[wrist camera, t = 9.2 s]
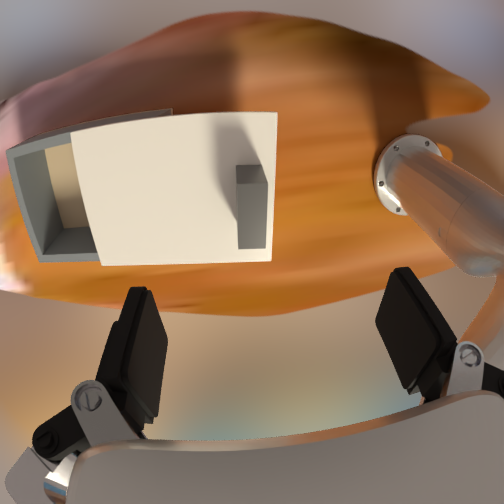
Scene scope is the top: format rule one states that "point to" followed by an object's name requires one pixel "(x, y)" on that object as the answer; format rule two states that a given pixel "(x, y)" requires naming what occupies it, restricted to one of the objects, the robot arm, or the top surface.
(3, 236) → the top surface
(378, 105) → the top surface
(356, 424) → the robot arm
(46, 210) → the grey box
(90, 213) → the sliding lid
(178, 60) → the top surface
